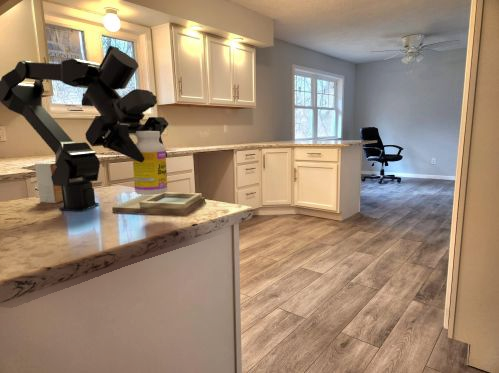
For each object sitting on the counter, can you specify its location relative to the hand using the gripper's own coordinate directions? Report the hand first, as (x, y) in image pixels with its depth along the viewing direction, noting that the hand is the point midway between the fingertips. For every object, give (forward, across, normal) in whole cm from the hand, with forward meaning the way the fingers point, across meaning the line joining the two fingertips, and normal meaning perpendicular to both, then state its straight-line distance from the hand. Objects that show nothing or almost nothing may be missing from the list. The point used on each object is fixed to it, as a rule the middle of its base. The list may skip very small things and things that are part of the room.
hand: (154, 159), depth 66 cm
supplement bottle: (+4, 0, +6) cm, 7 cm away
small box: (-17, +4, +36) cm, 41 cm away
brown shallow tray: (+5, +8, +13) cm, 16 cm away
